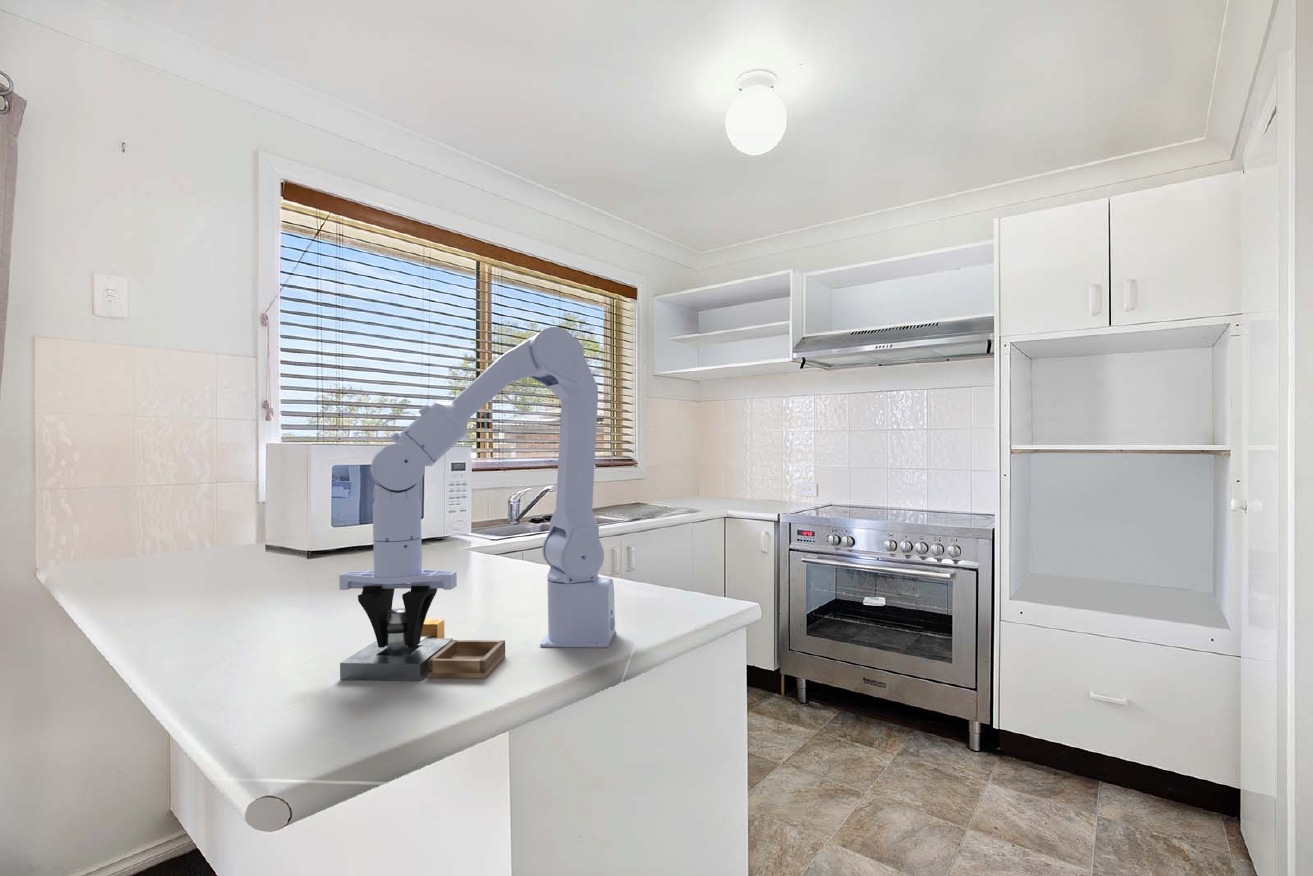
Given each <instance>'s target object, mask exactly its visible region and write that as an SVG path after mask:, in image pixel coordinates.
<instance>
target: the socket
mask: <svg viewBox="0 0 1313 876" xmlns="http://www.w3.org/2000/svg"><path fill="white" fill-rule="evenodd" d="M453 640H454V638H446V637H444V638H426V639H425V640H423V641H422V642H420V643H419V644H418V645H417V649H416V650H415V651H414V652H412V653H411V654H410V655H408V656H390V655H387V646H385V647H384V648H379V647H378V643H377V640H376V641H373V642H372V643H370V644H369V645H367V646H365V647H364V648H362V649H360V650H359V651H358V652H355V653H354V654H352V655H351V656H349V657H347V658H346V659H344V660H342V661H340V663H339V675H340V676H339V680H343V681H344V680H345V681H346V680H348V681H349V680H350V681H406V682H407V681H411V682H412V681H413V682H416V681H418V682H419V681H420V682H421V681H422V680H424V679H425V677H428V660H429V659H430V658H431V657H433V656H434V655H435V654H437V653H438V652H439V651H440V650H442V649H443V648H444V647H445V646H447V645H448V644H449V643H451V642H452V641H453Z"/></svg>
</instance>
